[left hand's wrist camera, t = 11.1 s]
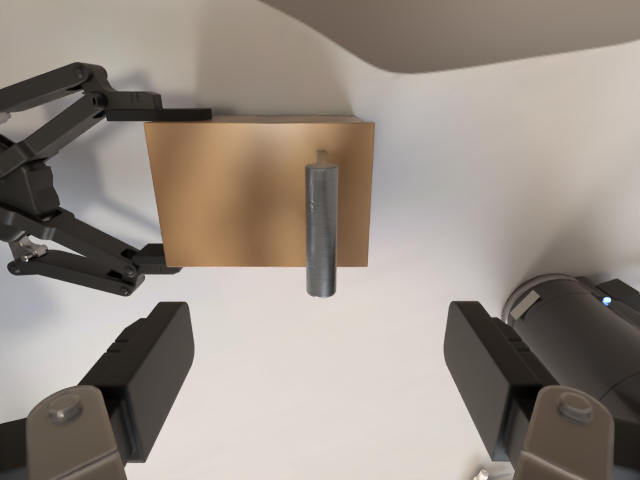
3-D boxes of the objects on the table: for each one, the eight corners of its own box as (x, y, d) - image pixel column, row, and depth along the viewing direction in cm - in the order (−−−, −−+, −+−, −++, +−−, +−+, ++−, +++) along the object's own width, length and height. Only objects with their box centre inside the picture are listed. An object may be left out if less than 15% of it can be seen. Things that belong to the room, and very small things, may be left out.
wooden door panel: (372, 121, 25) (397, 133, 17) (365, 261, 28) (383, 324, 21) (150, 121, 25) (71, 132, 17) (171, 261, 28) (115, 324, 21)
